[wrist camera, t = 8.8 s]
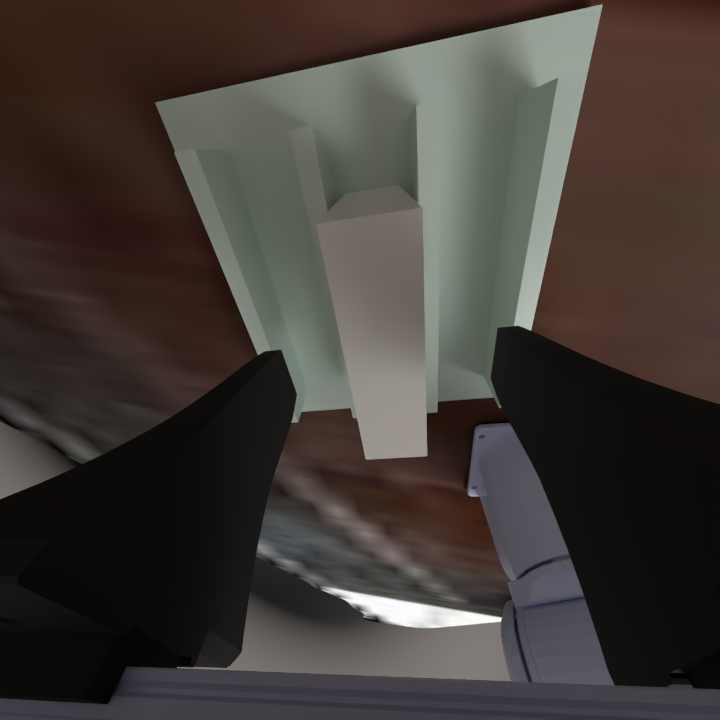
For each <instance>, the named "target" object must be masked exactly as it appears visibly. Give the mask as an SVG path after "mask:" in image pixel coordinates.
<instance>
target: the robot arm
mask: <svg viewBox="0 0 720 720" xmlns="http://www.w3.org/2000/svg"><path fill="white" fill-rule="evenodd" d="M490 379H491V381H492V384H493V387H494V390H495V393H496V396H497V398H498V401H499V403H500V406H501V407H502V409H503V411H504V413H505V415H506V417H507V419H508V421H509V423H499V424H483V425H478V426H477V427H475V429H474V437H473V446H472V454H471V463H470V471H469V479H468V488H467V492H468V495H469V496H480V499H481V502H482V505H483V509H484V512H485V515H486V518H487V521H488V525H489V528H490V531H491V534H492V537H493V541H494V544H495V547H496V550H497V553H498V556H499V560H500V562H501V564H502V567H503V569H504V571H505V572H506V574H507V576H508V577H509V578H510V580H511V582H508V583H507V584H508V587H509V590H510V593H511V596H512V600H510V601H508V602H507V603H506V604H505V606H504V610H503V617H502V620H501V637H502V645H503V651H504V655H505V660H506V664H507V668H508V672H509V675H510V679H511V681H486V680H462V679H436V678H410V677H385V676H358V675H333V674H332V675H330V674H307V673H282V672H255V671H230V670H204V669H179V668H177V667H217V668H219V667H220V668H227V667H228V666H230V665H231V664H232V663H233V662H234V661H235V660H236V658H237V657H238V656H239V655H240V653H241V651H242V644H243V635H244V628H245V620H246V613H247V606H248V600H249V592H250V586H251V581H252V574H253V569H254V563H255V557H256V551H257V546H258V541H259V536H260V531H261V526H262V521H263V516H264V512H265V507H266V503H267V499H268V494H269V490H270V486H271V483H272V479H273V476H274V473H275V470H276V467H277V464H278V461H279V458H280V455H281V452H282V449H283V446H284V443H285V441H286V438H287V435H288V431H289V428H290V425H291V422H292V419H293V414H294V409H295V403H296V397H297V393H296V390H295V387H294V384H293V381H292V378H291V376H290V373H289V370H288V367H287V364H286V361H285V359H284V356H283V353H282V350H272V351H264V352H263V353H261V354H259V355H258V356H256V357H255V358H254V359H252V360H251V361H249V362H248V363H247V364H245V365H244V366H243V367H241V368H240V369H239V370H238V371H236V372H235V373H234V374H232V375H231V376H230V377H228V378H227V379H226V380H224V381H223V382H222V383H220V384H219V385H218V386H216V387H215V388H213V389H212V390H211V391H209V392H208V393H206V394H205V395H204V396H202V397H201V398H199V399H198V400H197V401H195V402H194V403H192V404H191V405H189V406H188V407H186V408H185V409H183V410H182V411H180V412H179V413H177V414H176V415H174V416H172V417H171V418H169V419H167V420H166V421H164V422H162V423H161V424H159V425H157V426H156V427H154V428H152V429H150V430H149V431H147V432H145V433H143V434H141V435H139V436H137V437H136V438H134V439H132V440H130V441H128V442H126V443H124V444H122V445H121V446H119V447H117V448H115V449H113V450H111V451H109V452H107V453H105V454H103V455H101V456H99V457H97V458H95V459H93V460H91V461H88V462H86V463H84V464H82V465H80V466H78V467H76V468H73V469H72V470H69V471H67V472H65V473H62V474H60V475H58V476H56V477H53V478H51V479H49V480H46V481H44V482H42V483H40V484H37V485H35V486H32V487H30V488H27V489H25V490H22V491H20V492H18V493H15V494H13V495H10V496H7V497H5V498H3V499H1V500H0V720H720V404H716V403H713V402H709V401H706V400H703V399H699V398H696V397H693V396H690V395H687V394H683V393H680V392H677V391H675V390H672V389H669V388H666V387H663V386H660V385H657V384H654V383H651V382H648V381H646V380H643V379H640V378H637V377H635V376H632V375H629V374H627V373H624V372H622V371H620V370H617V369H615V368H612V367H610V366H607V365H605V364H602V363H600V362H598V361H595V360H593V359H591V358H589V357H586V356H584V355H582V354H580V353H577V352H575V351H573V350H571V349H569V348H567V347H565V346H562V345H560V344H558V343H556V342H554V341H552V340H550V339H548V338H546V337H543V336H541V335H539V334H537V333H535V332H533V331H530V330H528V329H526V328H523V327H520V326H510V327H500V328H497V335H496V343H495V350H494V357H493V364H492V371H491V378H490Z"/></svg>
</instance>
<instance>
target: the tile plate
mask: <svg viewBox="0 0 720 720" xmlns="http://www.w3.org/2000/svg"><path fill="white" fill-rule="evenodd" d="M316 226H317V231H318V236H319V241H320V245H321V250H322V255H323V260H324V264H325V269H326V274H327V278H328V283H329V288H330V293H331V297H332V302H333V307H334V311H335V316H336V321H337V326H338V330H339V335H340V340H341V345H342V349H343V354H344V359H345V363H346V368H347V373H348V378H349V382H350V387H351V392H352V396H353V401H354V406H355V411H356V415H357V420H358V425H359V430H360V434H361V439H362V444H363V448H364V453H365V458H366V460H367V459H385V458H404V457H423V456H427V416H426V362H425V308H424V254H423V207H422V206H421V205H419V204H418V203H417V202H416V201H415V200H414V199H413V198H412V197H411V196H410V195H409V194H408V193H407V192H406V191H405V190H403V189H402V188H401V187H400V186H399V185H395V186H389V187H383V188H377V189H371V190H365V191H359V192H353V193H346V194H344V195H343V196H342V197H341V198H340V199H339V200H338V202H337V203H336V204H335V205H334V206H333V207H332V208H331V209H330V210H329V211H328V212H327V213H326V214H325V215H324V216H323V217H322V218H321V219H320V220H319V221H318V222H317V223H316Z"/></svg>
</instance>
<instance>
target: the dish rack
mask: <svg viewBox="0 0 720 720" xmlns="http://www.w3.org/2000/svg"><path fill="white" fill-rule="evenodd" d="M602 5H603V4H602ZM602 5H597V6H593V7H588V8H584V9H579V10H574V11H570V12H565V13H561V14H556V15H552V16H547V17H542V18H538V19H533V20H529V21H524V22H520V23H515V24H511V25H506V26H501V27H497V28H492V29H488V30H483V31H479V32H474V33H470V34H465V35H460V36H456V37H451V38H447V39H442V40H438V41H433V42H429V43H424V44H419V45H415V46H410V47H406V48H401V49H397V50H392V51H388V52H383V53H378V54H374V55H369V56H365V57H360V58H356V59H351V60H347V61H342V62H337V63H333V64H328V65H324V66H319V67H315V68H310V69H306V70H301V71H296V72H292V73H287V74H283V75H278V76H274V77H269V78H264V79H260V80H255V81H251V82H246V83H242V84H237V85H233V86H228V87H223V88H219V89H214V90H210V91H205V92H201V93H196V94H192V95H187V96H182V97H178V98H173V99H169V100H164V101H160V102H155V104H156V106H157V109H158V111H159V113H160V116H161V118H162V121H163V123H164V126H165V128H166V130H167V133H168V135H169V138H170V140H171V143H172V145H173V147H174V150H175V152H174V154H175V156H176V159H177V161H178V163H179V166H180V168H181V171H182V173H183V176H184V178H185V180H186V183H187V185H188V188H189V190H190V192H191V195H192V197H193V200H194V202H195V204H196V207H197V209H198V212H199V214H200V217H201V219H202V221H203V224H204V226H205V229H206V231H207V233H208V236H209V238H210V241H211V243H212V245H213V248H214V250H215V253H216V255H217V258H218V260H219V262H220V265H221V267H222V270H223V272H224V274H225V277H226V279H227V282H228V284H229V286H230V289H231V291H232V294H233V296H234V299H235V301H236V303H237V306H238V308H239V311H240V313H241V315H242V318H243V320H244V323H245V325H246V327H247V330H248V332H249V335H250V337H251V340H252V342H253V344H254V347H255V349H256V352H257V354H258V355H259V354H261V353H263V352H264V351H272V350H282V353H283V356H284V359H285V361H286V364H287V367H288V370H289V373H290V376H291V378H292V381H293V384H294V387H295V390H296V393H297V397H296V403H295V409H294V414H293V419H292V422H291V423H293V422H298V421H299V418H300V415H301V412H306V411H319V410H332V409H346V408H351V411H352V416H353V418H357V415H356V411H355V406H354V401H353V396H352V392H351V387H350V382H349V378H348V373H347V368H346V363H345V359H344V354H343V349H342V345H341V340H340V335H339V330H338V326H337V321H336V316H335V311H334V307H333V302H332V297H331V293H330V288H329V283H328V278H327V274H326V269H325V264H324V260H323V255H322V250H321V245H320V241H319V236H318V231H317V226H316V223H317V222H318V221H319V220H320V219H321V218H322V217H323V216H324V215H325V214H326V213H327V212H328V211H329V210H330V209H331V208H332V207H333V206H334V205H335V204H336V203H337V202H338V200H339V199H340V198H341V197H342V196H343V195H344V194H346V193H353V192H359V191H365V190H371V189H377V188H383V187H389V186H395V185H399V186H400V187H401V188H402V189H403V190H405V191H406V192H407V193H408V194H409V195H410V196H411V197H412V198H413V199H414V200H415V201H416V202H417V203H418V204H419V205H421V206H422V207H423V254H424V308H425V362H426V413H435V412H438V402H439V401H452V400H466V399H479V398H492V397H494V399H495V401H496V403H497V405H498V407H499V408H502V407H501V406H500V403H499V401H498V398H497V396H496V393H495V390H494V387H493V384H492V381H491V379H490V378H491V371H492V364H493V357H494V350H495V343H496V335H497V328H500V327H510V326H520V327H523V328H526V329H528V330H530V331H531V328H532V324H533V319H534V315H535V310H536V306H537V301H538V297H539V292H540V287H541V283H542V278H543V274H544V269H545V265H546V260H547V256H548V251H549V246H550V242H551V237H552V233H553V228H554V224H555V219H556V215H557V210H558V205H559V201H560V196H561V192H562V187H563V183H564V178H565V174H566V169H567V164H568V160H569V155H570V151H571V146H572V142H573V137H574V132H575V128H576V123H577V119H578V114H579V110H580V105H581V101H582V96H583V91H584V87H585V82H586V78H587V73H588V69H589V64H590V60H591V55H592V50H593V46H594V41H595V37H596V32H597V28H598V23H599V19H600V14H601V9H602Z"/></svg>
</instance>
